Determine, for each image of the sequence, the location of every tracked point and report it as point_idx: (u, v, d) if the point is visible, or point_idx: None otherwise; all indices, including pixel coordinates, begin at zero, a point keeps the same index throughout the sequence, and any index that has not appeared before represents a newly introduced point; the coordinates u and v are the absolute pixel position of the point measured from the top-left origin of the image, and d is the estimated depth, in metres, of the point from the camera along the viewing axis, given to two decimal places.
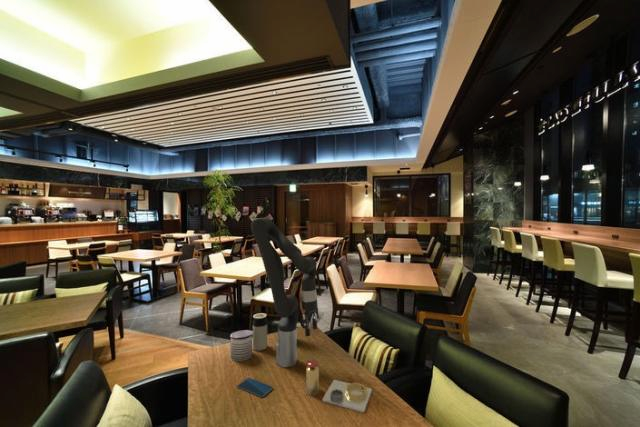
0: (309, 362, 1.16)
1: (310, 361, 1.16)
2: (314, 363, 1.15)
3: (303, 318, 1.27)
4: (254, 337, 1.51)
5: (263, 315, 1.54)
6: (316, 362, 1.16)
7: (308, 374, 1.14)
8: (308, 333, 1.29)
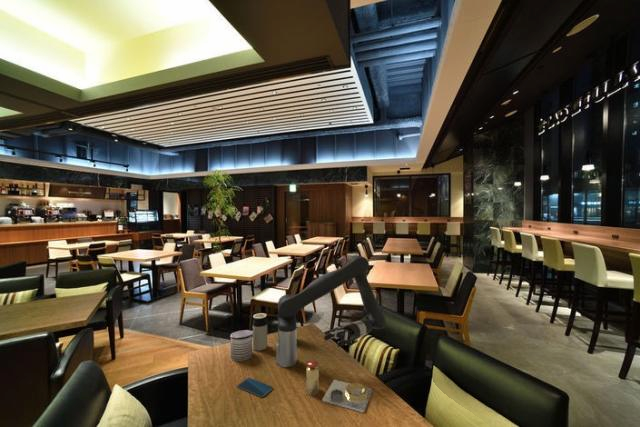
0: (309, 362, 1.16)
1: (310, 361, 1.16)
2: (314, 363, 1.15)
3: (356, 339, 1.24)
4: (254, 337, 1.51)
5: (263, 315, 1.54)
6: (316, 362, 1.16)
7: (308, 374, 1.14)
8: (341, 345, 1.20)
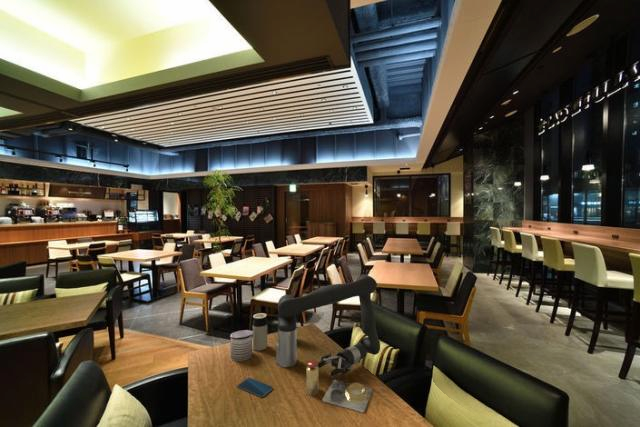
0: (309, 362, 1.16)
1: (310, 361, 1.16)
2: (314, 363, 1.15)
3: (349, 367, 1.21)
4: (254, 337, 1.51)
5: (263, 315, 1.54)
6: (316, 362, 1.16)
7: (308, 374, 1.14)
8: (334, 374, 1.18)
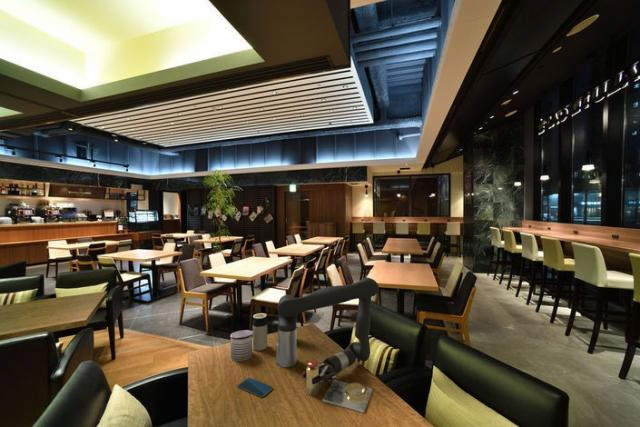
0: (309, 362, 1.16)
1: (310, 361, 1.16)
2: (314, 363, 1.15)
3: (334, 376, 1.15)
4: (254, 337, 1.51)
5: (263, 315, 1.54)
6: (316, 362, 1.16)
7: (308, 374, 1.14)
8: (316, 382, 1.12)
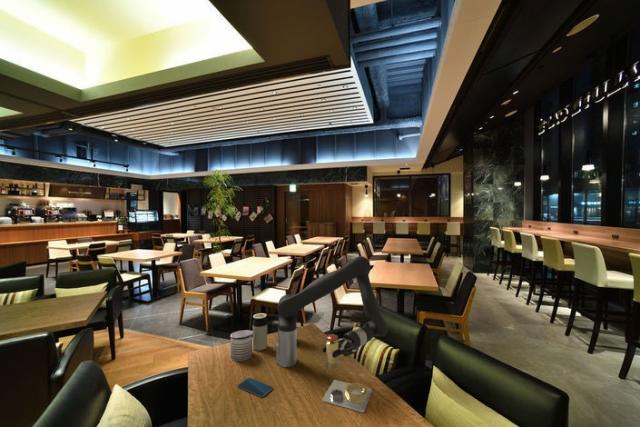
0: (329, 336, 1.15)
1: (330, 336, 1.15)
2: (334, 337, 1.14)
3: (354, 349, 1.14)
4: (254, 337, 1.51)
5: (263, 315, 1.54)
6: (336, 336, 1.15)
7: (328, 348, 1.13)
8: (336, 356, 1.11)
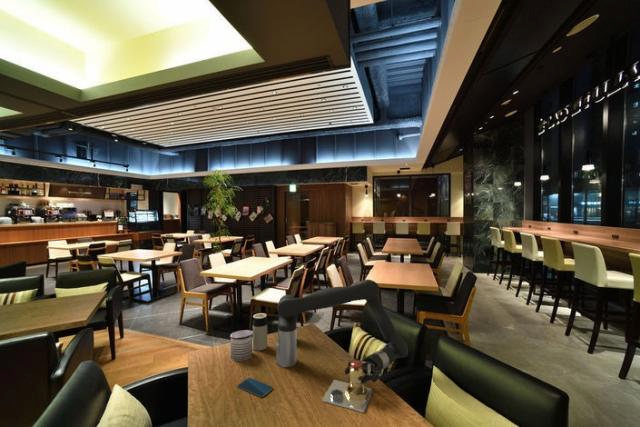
0: (353, 362, 1.14)
1: (354, 362, 1.14)
2: (358, 363, 1.13)
3: (380, 373, 1.13)
4: (254, 337, 1.51)
5: (263, 315, 1.54)
6: (360, 362, 1.14)
7: (352, 375, 1.12)
8: None
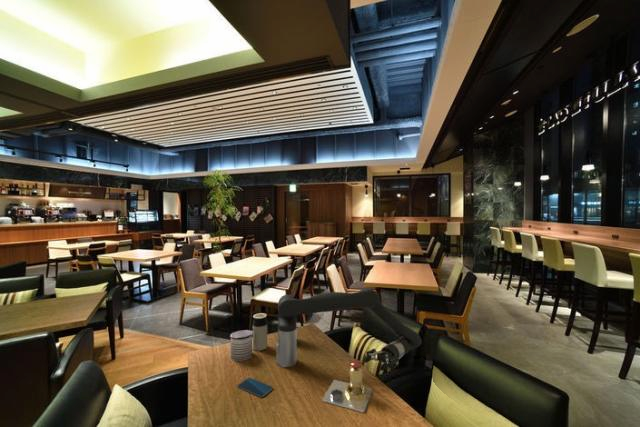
0: (352, 362, 1.14)
1: (353, 362, 1.14)
2: (358, 363, 1.13)
3: (397, 362, 1.22)
4: (254, 337, 1.51)
5: (263, 315, 1.54)
6: (360, 362, 1.14)
7: (352, 375, 1.12)
8: None
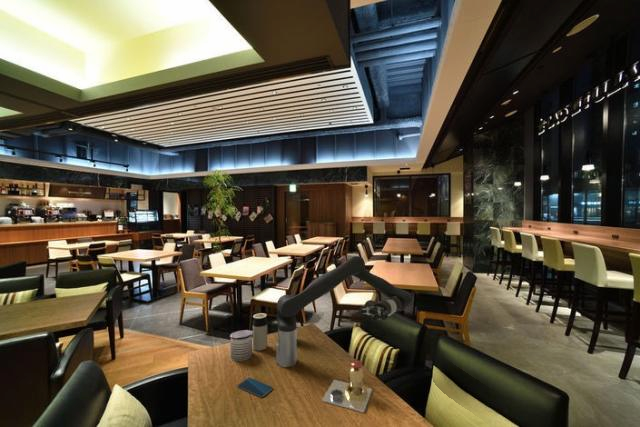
0: (353, 363, 1.13)
1: (354, 362, 1.14)
2: (358, 364, 1.13)
3: (389, 314, 1.27)
4: (254, 337, 1.51)
5: (263, 315, 1.54)
6: (360, 363, 1.14)
7: (352, 375, 1.11)
8: (376, 319, 1.23)
